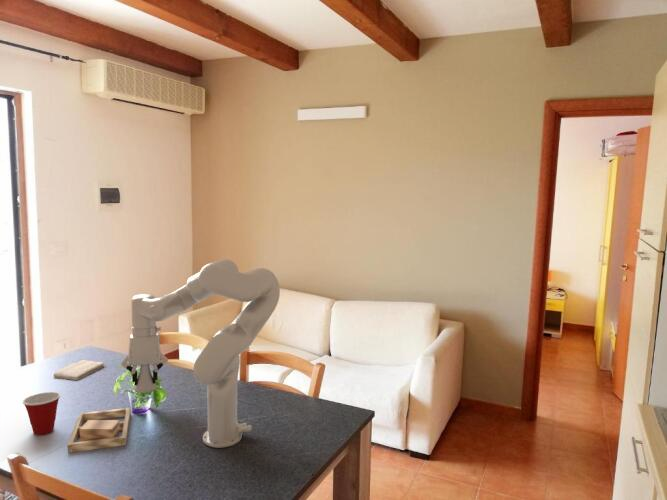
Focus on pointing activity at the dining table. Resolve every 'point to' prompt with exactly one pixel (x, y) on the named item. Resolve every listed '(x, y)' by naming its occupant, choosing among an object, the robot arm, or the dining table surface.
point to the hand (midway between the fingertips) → (145, 382)
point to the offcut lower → (95, 438)
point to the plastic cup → (42, 411)
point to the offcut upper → (99, 429)
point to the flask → (145, 380)
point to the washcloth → (78, 370)
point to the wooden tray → (99, 443)
